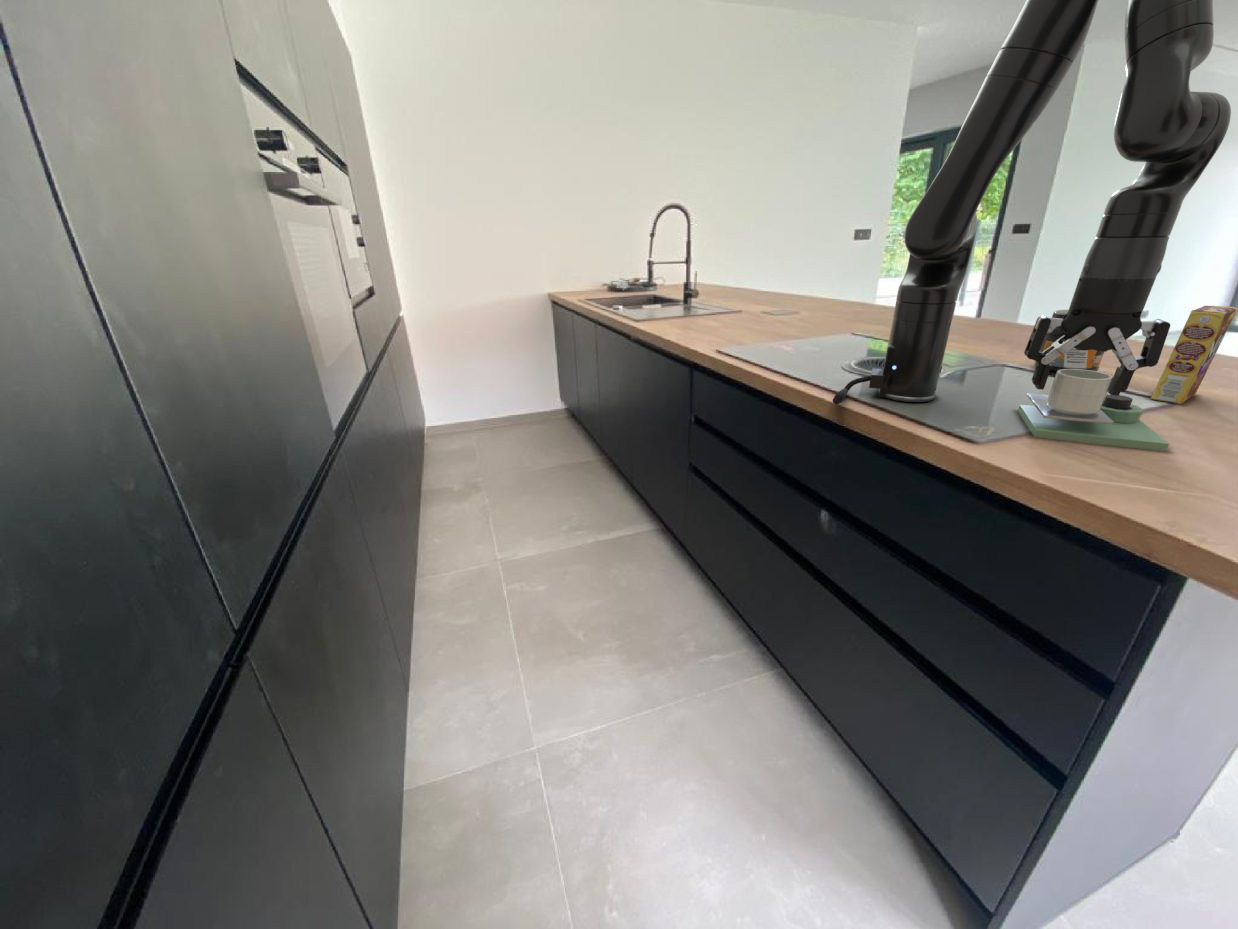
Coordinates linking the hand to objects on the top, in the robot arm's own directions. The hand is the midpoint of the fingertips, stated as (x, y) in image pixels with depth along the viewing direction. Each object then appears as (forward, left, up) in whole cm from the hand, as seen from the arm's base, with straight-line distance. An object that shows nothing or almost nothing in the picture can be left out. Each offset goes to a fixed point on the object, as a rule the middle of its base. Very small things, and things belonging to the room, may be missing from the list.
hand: (1074, 391), depth 74 cm
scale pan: (0, +2, -3) cm, 4 cm away
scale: (+3, +2, -6) cm, 8 cm away
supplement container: (+9, +42, -7) cm, 44 cm away
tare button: (+7, +6, -4) cm, 10 cm away
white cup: (+1, 0, -3) cm, 3 cm away
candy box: (+21, +26, -7) cm, 34 cm away
